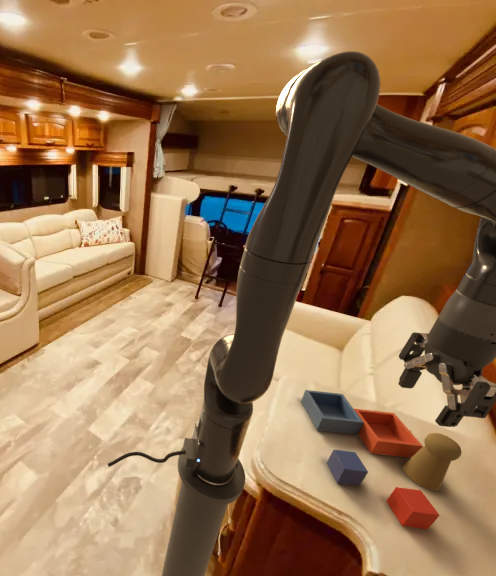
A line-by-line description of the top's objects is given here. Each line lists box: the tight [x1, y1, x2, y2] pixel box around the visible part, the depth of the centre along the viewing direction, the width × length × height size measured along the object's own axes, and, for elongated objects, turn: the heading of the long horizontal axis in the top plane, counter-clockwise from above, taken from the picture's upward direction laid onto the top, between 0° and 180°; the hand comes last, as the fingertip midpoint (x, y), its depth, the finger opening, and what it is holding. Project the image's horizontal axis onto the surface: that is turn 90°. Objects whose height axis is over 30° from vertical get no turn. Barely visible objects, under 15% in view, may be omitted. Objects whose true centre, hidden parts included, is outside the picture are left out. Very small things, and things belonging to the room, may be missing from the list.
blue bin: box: [300, 389, 364, 436], centre depth 81 cm, size 9×9×4 cm
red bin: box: [353, 408, 424, 459], centre depth 75 cm, size 9×9×4 cm
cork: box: [402, 432, 463, 491], centre depth 66 cm, size 6×6×11 cm
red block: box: [386, 486, 441, 530], centre depth 60 cm, size 4×4×4 cm
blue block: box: [326, 449, 369, 487], centre depth 67 cm, size 4×4×4 cm
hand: (422, 404), depth 54 cm, fingers open, 8 cm apart
